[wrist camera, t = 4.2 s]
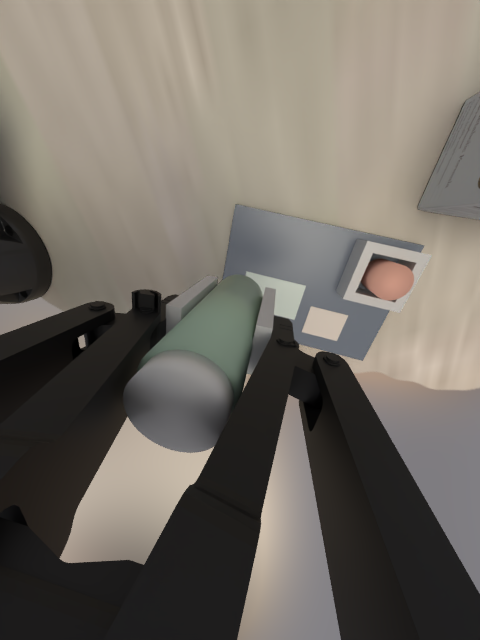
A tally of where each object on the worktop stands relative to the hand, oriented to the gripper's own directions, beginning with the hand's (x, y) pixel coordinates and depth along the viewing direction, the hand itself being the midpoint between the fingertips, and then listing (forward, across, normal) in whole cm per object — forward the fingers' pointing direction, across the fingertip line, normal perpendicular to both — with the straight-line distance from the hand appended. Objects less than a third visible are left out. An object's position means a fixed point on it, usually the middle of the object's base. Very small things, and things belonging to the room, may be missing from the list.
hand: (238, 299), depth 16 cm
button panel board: (+14, +7, -2) cm, 16 cm away
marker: (+1, 0, 0) cm, 1 cm away
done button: (+12, +14, +2) cm, 19 cm away
